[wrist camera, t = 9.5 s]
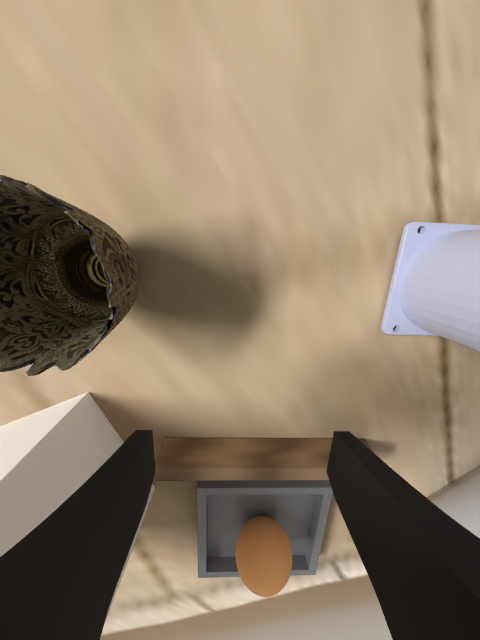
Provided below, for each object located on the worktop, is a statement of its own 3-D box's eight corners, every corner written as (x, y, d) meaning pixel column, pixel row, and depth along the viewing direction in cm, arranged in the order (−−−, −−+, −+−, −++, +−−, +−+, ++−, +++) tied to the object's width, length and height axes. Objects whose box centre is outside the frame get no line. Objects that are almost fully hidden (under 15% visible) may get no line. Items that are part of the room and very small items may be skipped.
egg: (273, 496, 22) (286, 564, 17) (291, 528, 23) (308, 599, 19) (226, 513, 22) (225, 585, 18) (246, 544, 24) (251, 618, 19)
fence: (363, 438, 21) (384, 468, 18) (361, 449, 21) (381, 479, 19) (165, 437, 20) (154, 468, 17) (165, 448, 21) (155, 480, 18)
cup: (70, 189, 14) (-110, 119, 7) (180, 242, 16) (133, 233, 8) (44, 295, 16) (-121, 334, 9) (145, 335, 17) (78, 402, 10)
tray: (325, 468, 22) (333, 487, 20) (309, 552, 25) (315, 574, 24) (199, 469, 21) (196, 488, 20) (200, 555, 25) (198, 577, 23)
